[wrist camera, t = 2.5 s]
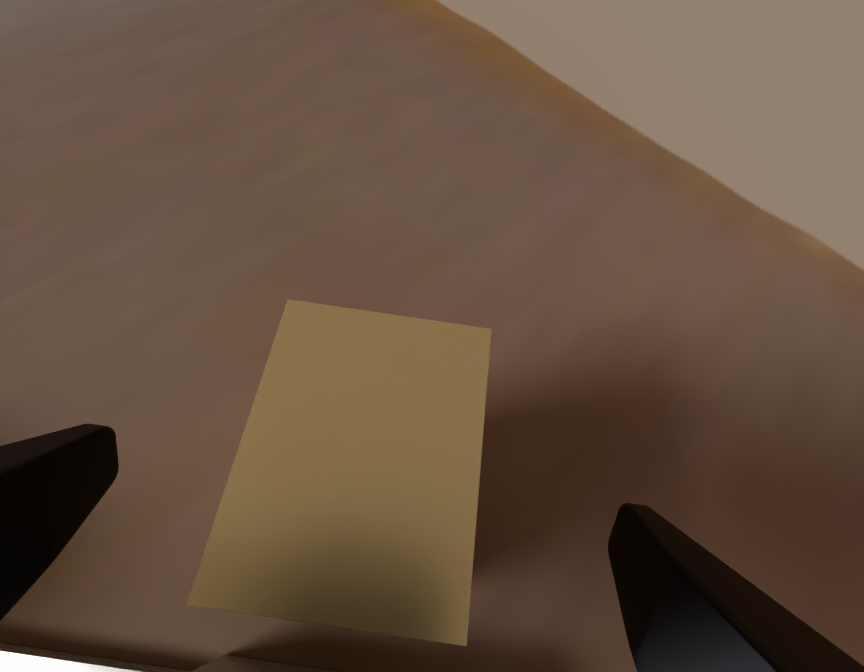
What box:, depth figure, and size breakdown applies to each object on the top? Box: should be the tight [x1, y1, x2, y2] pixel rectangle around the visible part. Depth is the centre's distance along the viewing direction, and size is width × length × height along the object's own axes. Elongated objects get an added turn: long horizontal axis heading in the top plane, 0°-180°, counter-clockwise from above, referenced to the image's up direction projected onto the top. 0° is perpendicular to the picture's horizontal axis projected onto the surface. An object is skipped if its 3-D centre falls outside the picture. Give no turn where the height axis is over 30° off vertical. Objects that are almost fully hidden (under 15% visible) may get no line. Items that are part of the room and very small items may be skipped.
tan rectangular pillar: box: [187, 299, 491, 646], centre depth 11 cm, size 4×4×10 cm
